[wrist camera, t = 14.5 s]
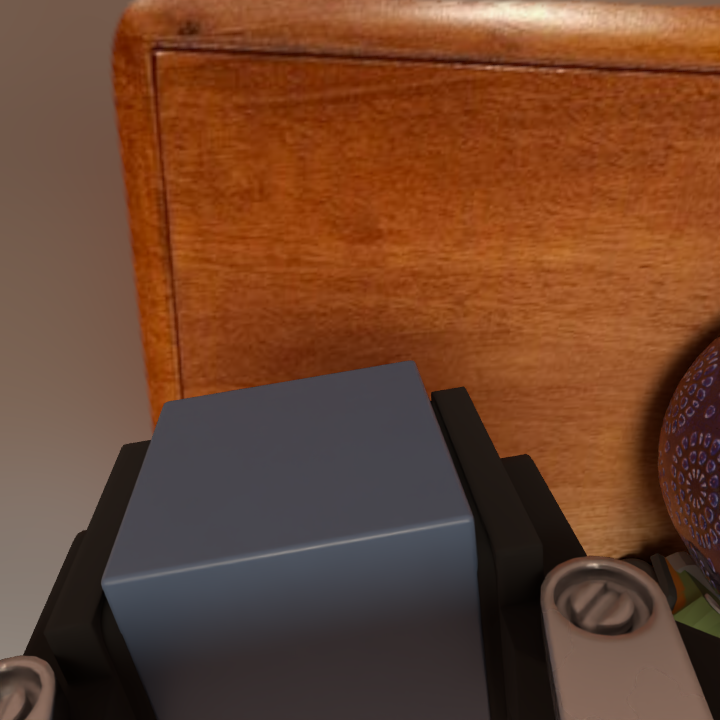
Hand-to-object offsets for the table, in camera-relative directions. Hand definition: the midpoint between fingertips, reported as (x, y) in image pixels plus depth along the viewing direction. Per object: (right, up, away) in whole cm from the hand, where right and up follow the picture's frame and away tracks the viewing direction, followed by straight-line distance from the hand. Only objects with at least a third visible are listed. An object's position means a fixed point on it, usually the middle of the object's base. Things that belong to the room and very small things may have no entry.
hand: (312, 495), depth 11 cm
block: (0, 0, 0) cm, 0 cm away
